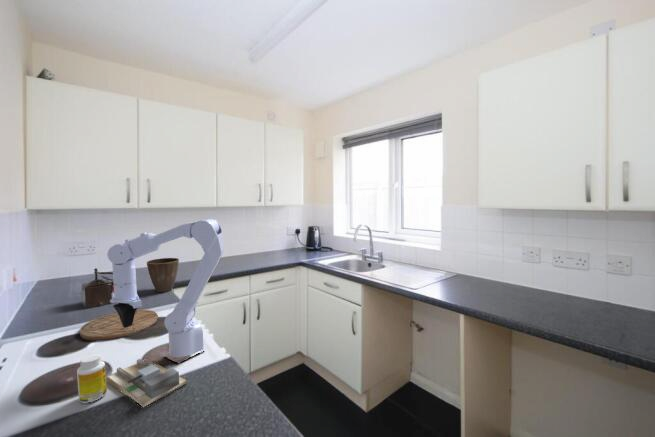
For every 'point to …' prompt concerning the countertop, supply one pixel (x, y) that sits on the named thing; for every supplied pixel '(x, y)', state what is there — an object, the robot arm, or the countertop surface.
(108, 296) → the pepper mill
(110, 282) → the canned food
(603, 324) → the countertop surface
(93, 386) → the supplement bottle
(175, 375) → the gauge base
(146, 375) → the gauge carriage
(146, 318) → the trivet
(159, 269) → the plant pot
